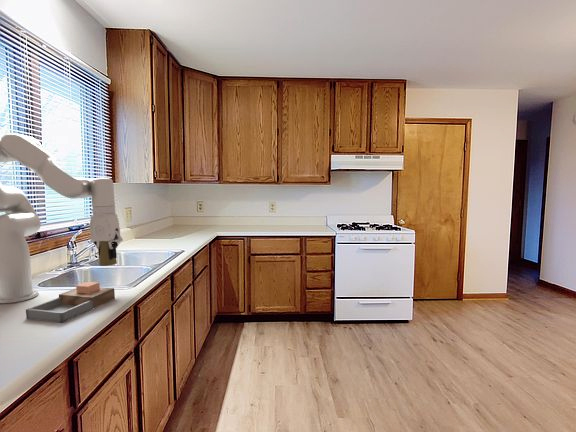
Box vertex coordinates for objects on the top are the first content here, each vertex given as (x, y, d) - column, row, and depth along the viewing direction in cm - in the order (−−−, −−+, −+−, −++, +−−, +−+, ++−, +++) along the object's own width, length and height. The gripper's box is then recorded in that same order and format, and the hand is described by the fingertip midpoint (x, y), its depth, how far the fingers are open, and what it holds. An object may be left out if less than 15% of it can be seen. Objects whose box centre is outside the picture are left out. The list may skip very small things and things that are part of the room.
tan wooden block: (59, 305, 116) (58, 294, 116) (83, 296, 126) (82, 285, 125) (92, 308, 113) (92, 297, 112) (114, 298, 122) (114, 288, 122)
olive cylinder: (112, 261, 132) (110, 233, 131) (119, 263, 128) (117, 235, 127) (96, 264, 127) (94, 236, 126) (103, 266, 124) (100, 237, 123)
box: (26, 318, 105) (25, 309, 105) (59, 305, 116) (58, 297, 116) (62, 322, 102) (61, 313, 101) (92, 308, 113) (92, 300, 112)
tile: (76, 292, 118) (76, 285, 117) (88, 288, 122) (87, 281, 122) (88, 293, 116) (87, 286, 116) (99, 289, 121) (99, 282, 121)
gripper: (77, 211, 124) (81, 260, 126) (115, 211, 120) (119, 261, 122) (93, 210, 131) (97, 255, 133) (129, 210, 127) (133, 257, 129)
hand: (107, 258), depth 128 cm, fingers closed on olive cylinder, 3 cm apart
